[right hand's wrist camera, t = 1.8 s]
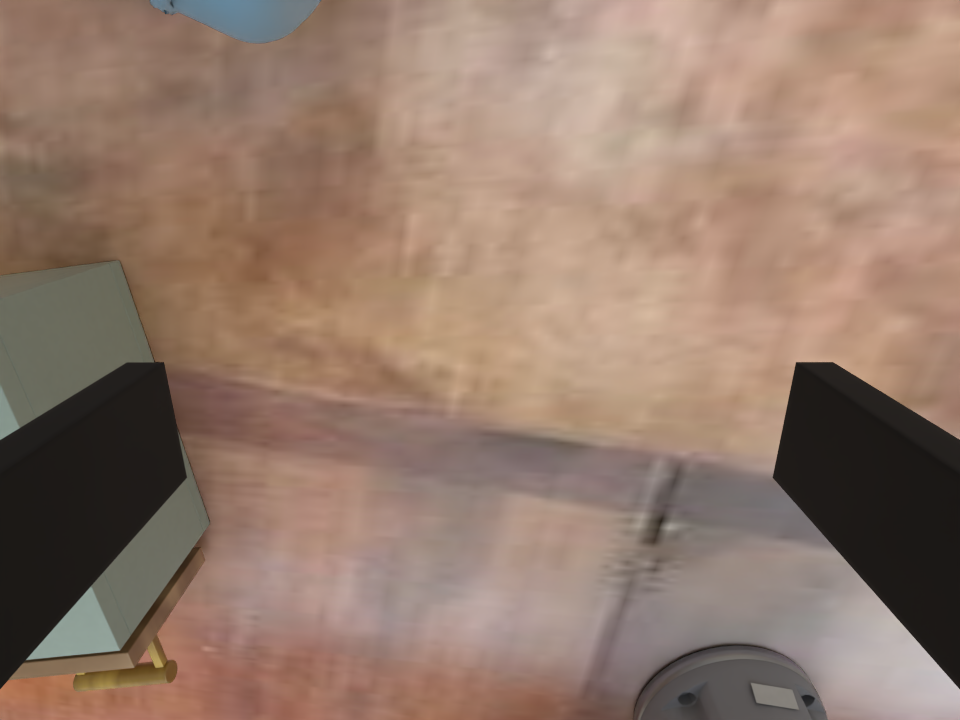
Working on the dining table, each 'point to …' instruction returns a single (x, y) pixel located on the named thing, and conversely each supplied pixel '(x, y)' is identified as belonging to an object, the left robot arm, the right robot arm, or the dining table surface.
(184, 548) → the cabinet
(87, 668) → the drawer
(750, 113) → the dining table surface
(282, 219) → the dining table surface
